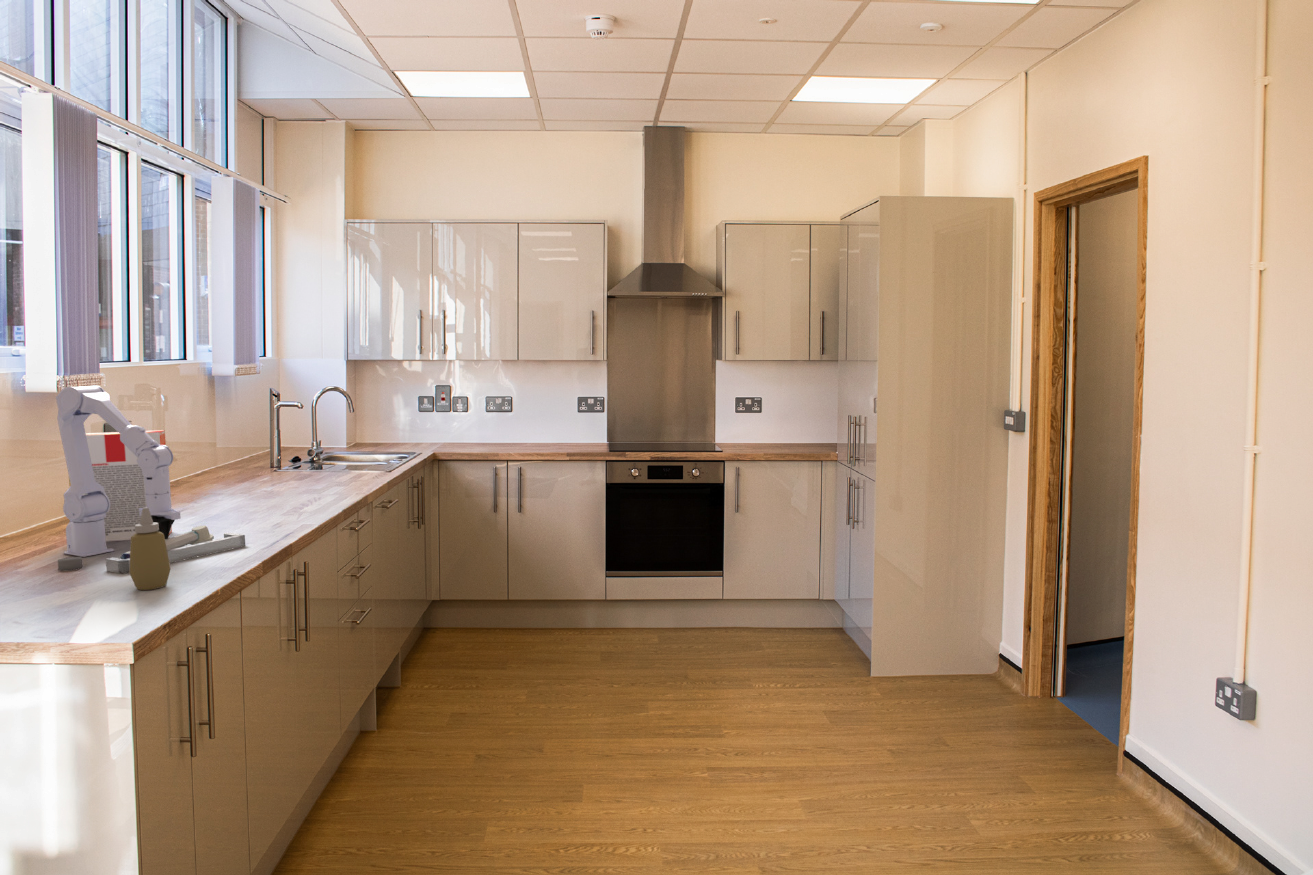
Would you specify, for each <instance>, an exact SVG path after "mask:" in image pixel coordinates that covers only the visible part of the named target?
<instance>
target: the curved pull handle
mask: <svg viewBox="0 0 1313 875" xmlns="http://www.w3.org/2000/svg"><path fill="white" fill-rule="evenodd" d="M212 540H213V541H208V542H203V543H199V544H194V545H190V544H188V545H186V546H183V547H180V548H175V549H171V550H167V553H168V558H169V563H170V564H171V563H176V562H175V561H177V562H180V561H181V562H182V561H185V560H184V559H186V560H189V559H193V558H198V557H197V556H199V557H202V556H206V555H207V554H208V555H212V554H216V553H219V552H225V551H229V549H230V550H233V549H232V548H234V549H238V548H242V547H241V546H243V547H246V535H245V534H241V533H233V532H226V533H224V534H223V537H222V538H219V539H218V538H217V539H212ZM224 550H225V551H224ZM215 552H216V553H215ZM105 568H106V572H111V573H117V574H120V575H121V574H122V575H123V574H128V573H129V572H130V558H129V559H120V557H119V558H118V557H107V558H105ZM129 574H130V573H129Z"/></svg>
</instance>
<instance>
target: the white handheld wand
mask: <svg viewBox="0 0 1313 875" xmlns="http://www.w3.org/2000/svg"><path fill="white" fill-rule="evenodd" d="M214 538H215V537H214V534H212V533H211V534H210V531H209V528H208V526H207V525H203V524H202V525H198V526H195V527H193V528H192V529H191V530H190V531H188V532H184V533H180V534H177V535H175V536H171V537H168V539H165V542H166V547H167V550H171V549H175V548H180V547H185V546H189V545H194V544H199V543H203V542H208V541H213V540H215V539H214ZM129 558H130V550H129V551H126V552H124V553H122V554H121V556H120V557H119V559H129Z"/></svg>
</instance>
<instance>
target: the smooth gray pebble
mask: <svg viewBox="0 0 1313 875" xmlns="http://www.w3.org/2000/svg"><path fill="white" fill-rule="evenodd" d="M57 564H58V565H57V567H58V568H57V570H58V571H59V572H68V571H69V572H70V571H71V572H72V571H77V570H80V569H83V568H82V567H84V566H83V564H84V563H83V557H81V556H70V557H63V558H60V559H58V560H57ZM76 569H77V570H76Z"/></svg>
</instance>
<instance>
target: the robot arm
mask: <svg viewBox="0 0 1313 875" xmlns="http://www.w3.org/2000/svg"><path fill="white" fill-rule="evenodd" d="M110 396H111V395H110V393H108V392H106V390H105V389H104V388H103V387H102V386H100V385H97V384H92V385H86V386H85V385H84V386H66V387H63V388H62V389H61V390H60V391H59V393H58V394H57V395H56V396H55V400H56V404H57V410H58V411H57V418H56V419H57V424H58V429H59V433H60V439H61V444H62V448H63V454H64V459H65V464H66V469H67V473H68V479H69V478H70V483H71V486H69V487H68V488H67V490H66V491H64V493H63V499H64V502H63V505H62V507H63V508H62V510H63V511H62V512H63V513H64V516H65V517H66V518H67V519H68V520H69V522H68V523H67V525H66V528H65V536H66V537H65V538H66V549H67V550H66V551H63V554H65V555H71V556H74V557H82V558H83V557H84V558H86V557H90V556H95V555H100V554H104V553H109V552H110V553H111V552H113V551H115V549H114V548H111V547H110V548H109V547H107V541H106V536H105V523H104V517H106V513H107V512H108V511H109V509H110V500H109V498H108V496H107V495H106V493H105V491H104V487H103V486H101V485H100V484H99V483H97V482H96V481H95V477H94V472H93V467H92V463H91V458H90V453H89V448H88V443H87V438H86V433H87V432H86V430H85V429H86V428H85V425H84V423H85V422H86V421H87V420H88V418H89V417H90V416H91V415H93V414H94V415H98V416H99V417H100V418H101V419H102V420H103V421H105V422H106V423H107V424H108V425H110V427H112V429H114V430H115V432H119V433H120V441H121V442H122V443H123V444H124V445H125V446H126V447H127V448H128V449H129V450H130V451H131V452H132V453H133V454H134V455H136V456H137V457H138V459H137V463H138V465H139V467H140V468H141V470H142V475H143V476H144V483H145V496H146V508H149V511H150V514H151V517H152V520H153V522H156V523H158V524H159V530H158V531H159V532H162V533H163V534H164V537H165V539H168V538H169V536H170V534H169V532H170V529H171V526H173V525H174V522H175V520H181V519H182V518H181V511H179V510H176V509H174V508H172V497H171V496H172V495H171V492H172V491H171V480H170V466H171V464H172V463H173V461H174V453H173V452H172V449H170V447H169V446H167V445H166V446H165V445H160V444H159V443H158V442H156V441H154V440H153V439H152V438H151V437H150V436H149V435H148V434H147V433H146V432H145V431H147V430H146V428H144V426H140V425H133V424H132V423H131V422H130V421H129V420H128V419H127V418H126V417H125V415H124V414H123V413H122V412H121V411H120V409H119V408H118V407H116V405H115V404H114V403H113V402H112V401H111V397H110ZM85 493H87V494H88V495H83V494H85ZM82 495H83V496H82ZM141 514H142V508H140V509H139V516H141Z"/></svg>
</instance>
